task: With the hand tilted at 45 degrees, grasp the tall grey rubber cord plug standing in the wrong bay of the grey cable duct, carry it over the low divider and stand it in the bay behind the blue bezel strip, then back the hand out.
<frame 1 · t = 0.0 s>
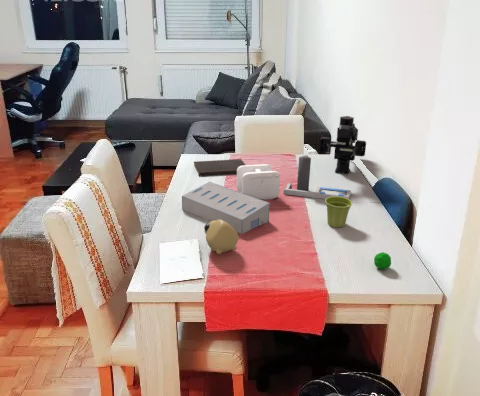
hand: (340, 152, 201), 17 cm above the table, tool horizontal, fingers open, 9 cm apart
warehouse: (224, 216, 182), on the table
polyhedron: (381, 268, 149), on the table
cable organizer: (257, 196, 200), on the table
hardcover book: (221, 170, 230), on the table
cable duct: (317, 192, 204), on the table
plant pot: (336, 224, 177), on the table
cord plug: (302, 190, 207), on the table
tan rounded figure: (220, 250, 157), on the table
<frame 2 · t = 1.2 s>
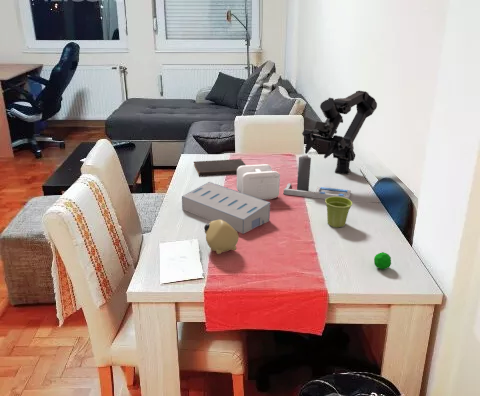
hand: (314, 155, 207), 13 cm above the table, tool tilted 45°, fingers open, 9 cm apart
nothing on the table moved.
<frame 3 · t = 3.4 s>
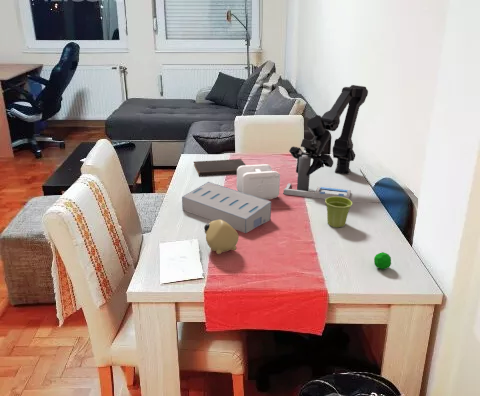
hand: (301, 173, 203), 8 cm above the table, tool tilted 45°, fingers closed on cord plug, 5 cm apart
cord plug: (302, 190, 207), on the table, touching gripper
everything else where it was.
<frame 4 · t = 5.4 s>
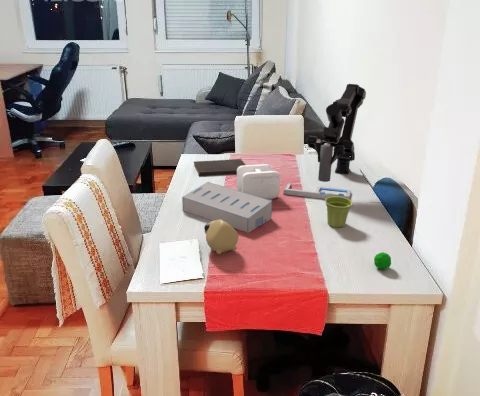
hand: (324, 162, 198), 13 cm above the table, tool tilted 45°, fingers closed on cord plug, 5 cm apart
cord plug: (324, 179, 202), point 6 cm above the table, touching gripper
when the fingers open (8 cm above the table, at t = 7.3 s): cord plug stays where it is, on the table.
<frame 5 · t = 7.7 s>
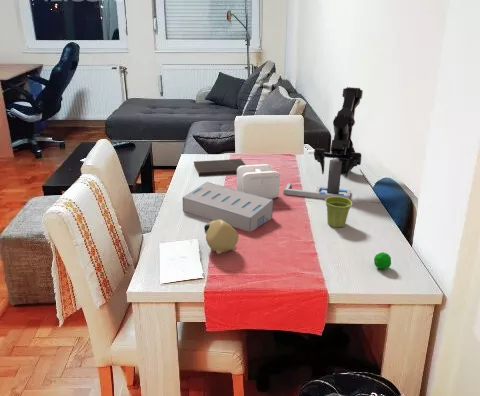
hand: (334, 175, 199), 9 cm above the table, tool tilted 45°, fingers open, 9 cm apart
cord plug: (332, 193, 204), on the table
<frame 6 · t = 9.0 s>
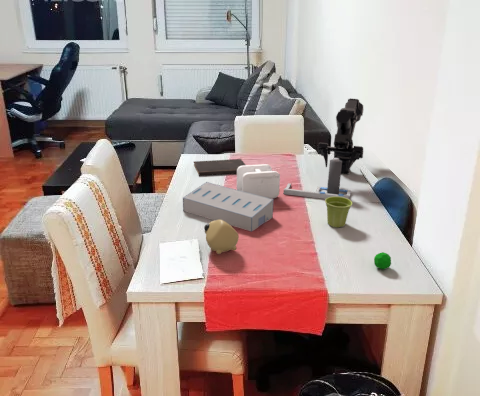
hand: (337, 168, 208), 8 cm above the table, tool tilted 45°, fingers open, 9 cm apart
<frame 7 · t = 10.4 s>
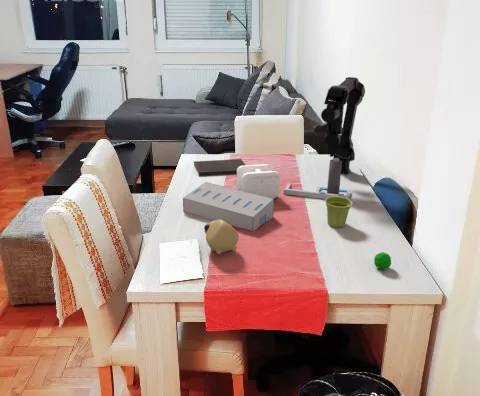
hand: (332, 154, 210), 13 cm above the table, tool pointing down, fingers open, 7 cm apart
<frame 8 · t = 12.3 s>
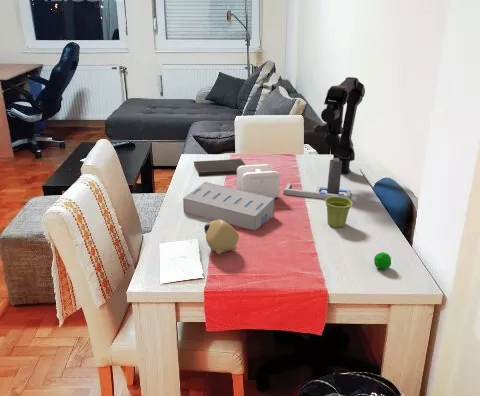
hand: (332, 154, 210), 13 cm above the table, tool pointing down, fingers closed
at the end: cord plug inside the target area on the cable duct (0.6 cm from its centre), point 0.0 cm above the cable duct's base; cord plug tilted 0°; the gripper is holding nothing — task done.
